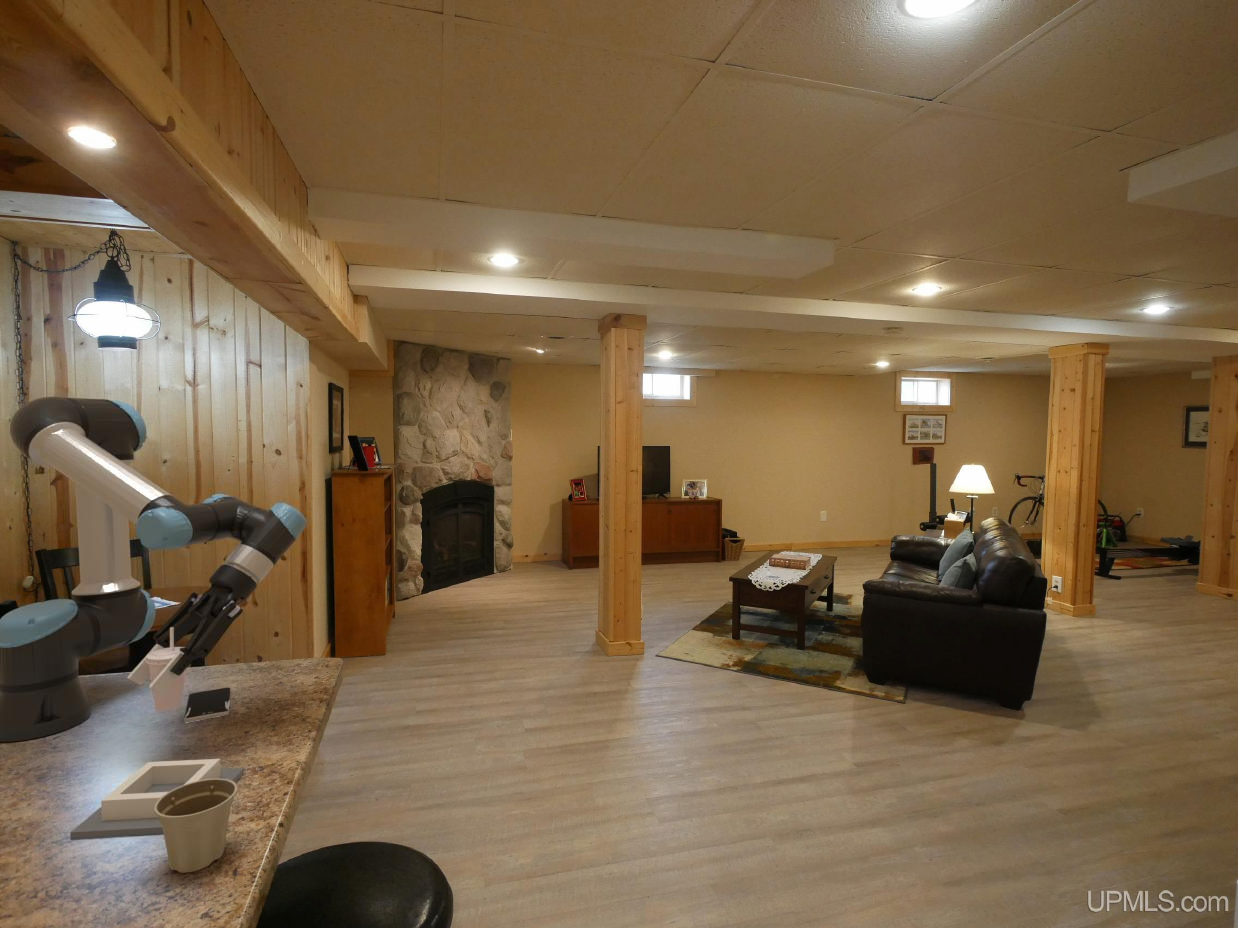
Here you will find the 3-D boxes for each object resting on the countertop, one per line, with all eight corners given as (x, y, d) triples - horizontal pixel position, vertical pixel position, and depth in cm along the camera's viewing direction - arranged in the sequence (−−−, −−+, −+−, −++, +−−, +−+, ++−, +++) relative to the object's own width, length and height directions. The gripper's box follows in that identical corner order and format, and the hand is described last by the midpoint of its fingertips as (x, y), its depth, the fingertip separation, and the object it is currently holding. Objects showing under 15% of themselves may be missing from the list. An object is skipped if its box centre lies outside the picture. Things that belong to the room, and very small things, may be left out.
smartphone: (230, 686, 142) (229, 711, 129) (230, 692, 142) (229, 718, 129) (189, 693, 138) (183, 719, 126) (189, 699, 138) (184, 726, 126)
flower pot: (223, 827, 93) (222, 770, 92) (249, 855, 87) (248, 793, 86) (145, 860, 85) (144, 798, 85) (168, 893, 79) (166, 826, 79)
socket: (142, 778, 106) (141, 754, 105) (243, 773, 107) (243, 750, 107) (70, 839, 90) (69, 811, 90) (191, 832, 92) (190, 805, 91)
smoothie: (197, 704, 112) (197, 627, 112) (155, 718, 107) (155, 636, 106) (180, 695, 116) (179, 620, 115) (139, 708, 110) (138, 629, 110)
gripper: (285, 592, 119) (193, 708, 106) (225, 578, 128) (133, 683, 115) (258, 569, 114) (157, 688, 101) (197, 556, 124) (98, 664, 110)
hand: (145, 685), depth 108 cm, fingers closed on smoothie, 6 cm apart
